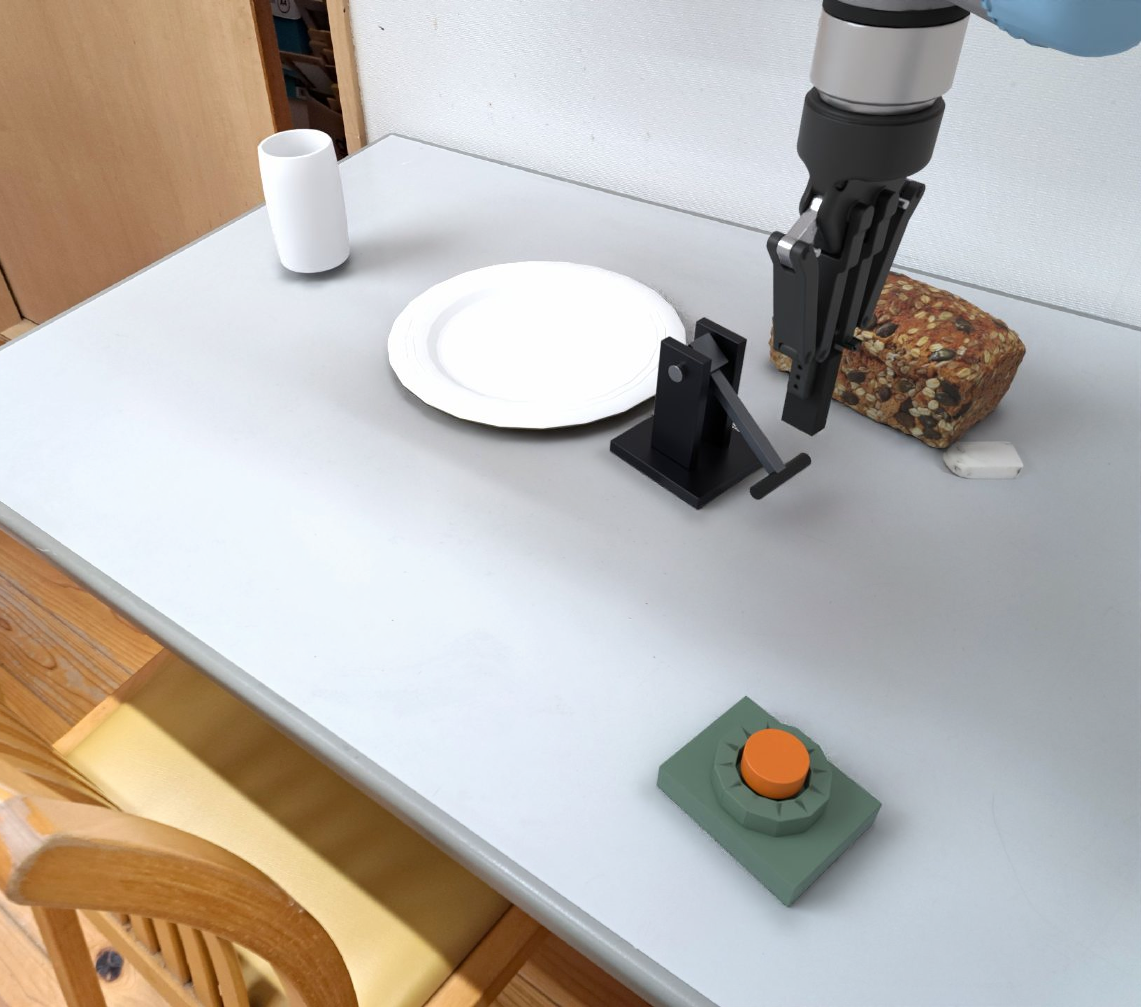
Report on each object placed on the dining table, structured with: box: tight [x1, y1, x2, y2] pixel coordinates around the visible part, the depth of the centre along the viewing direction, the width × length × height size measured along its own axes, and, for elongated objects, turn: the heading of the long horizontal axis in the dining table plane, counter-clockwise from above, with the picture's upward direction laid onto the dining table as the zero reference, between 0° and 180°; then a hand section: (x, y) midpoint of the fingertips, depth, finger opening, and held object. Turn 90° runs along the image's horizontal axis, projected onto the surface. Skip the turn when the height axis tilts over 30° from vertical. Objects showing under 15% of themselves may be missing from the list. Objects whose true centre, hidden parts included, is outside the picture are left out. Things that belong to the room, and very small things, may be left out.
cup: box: [257, 128, 351, 274], centre depth 105 cm, size 8×8×14 cm
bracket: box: [609, 316, 763, 510], centre depth 78 cm, size 10×9×12 cm
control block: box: [656, 695, 883, 908], centre depth 57 cm, size 10×8×4 cm
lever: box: [686, 333, 812, 501], centre depth 75 cm, size 13×6×2 cm
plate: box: [387, 260, 687, 431], centre depth 94 cm, size 29×29×2 cm
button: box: [741, 729, 810, 799], centre depth 55 cm, size 4×4×2 cm
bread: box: [767, 270, 1027, 449], centre depth 84 cm, size 19×11×10 cm, turn 39°
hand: (802, 423), depth 70 cm, fingers closed
